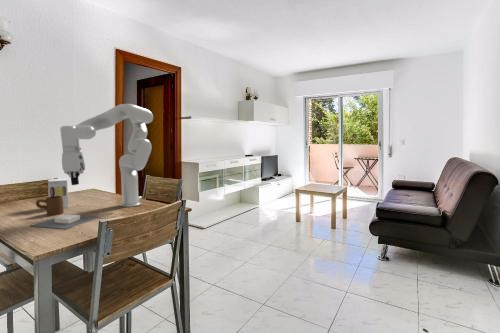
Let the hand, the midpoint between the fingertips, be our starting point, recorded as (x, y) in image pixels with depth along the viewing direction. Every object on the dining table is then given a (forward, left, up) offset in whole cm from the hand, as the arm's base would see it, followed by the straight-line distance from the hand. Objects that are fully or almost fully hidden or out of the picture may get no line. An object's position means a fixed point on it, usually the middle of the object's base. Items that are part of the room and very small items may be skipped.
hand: (75, 184), depth 149 cm
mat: (+10, +3, -17) cm, 20 cm away
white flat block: (+10, +1, -15) cm, 19 cm away
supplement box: (-14, -26, -17) cm, 34 cm away
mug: (+1, -16, -17) cm, 23 cm away
